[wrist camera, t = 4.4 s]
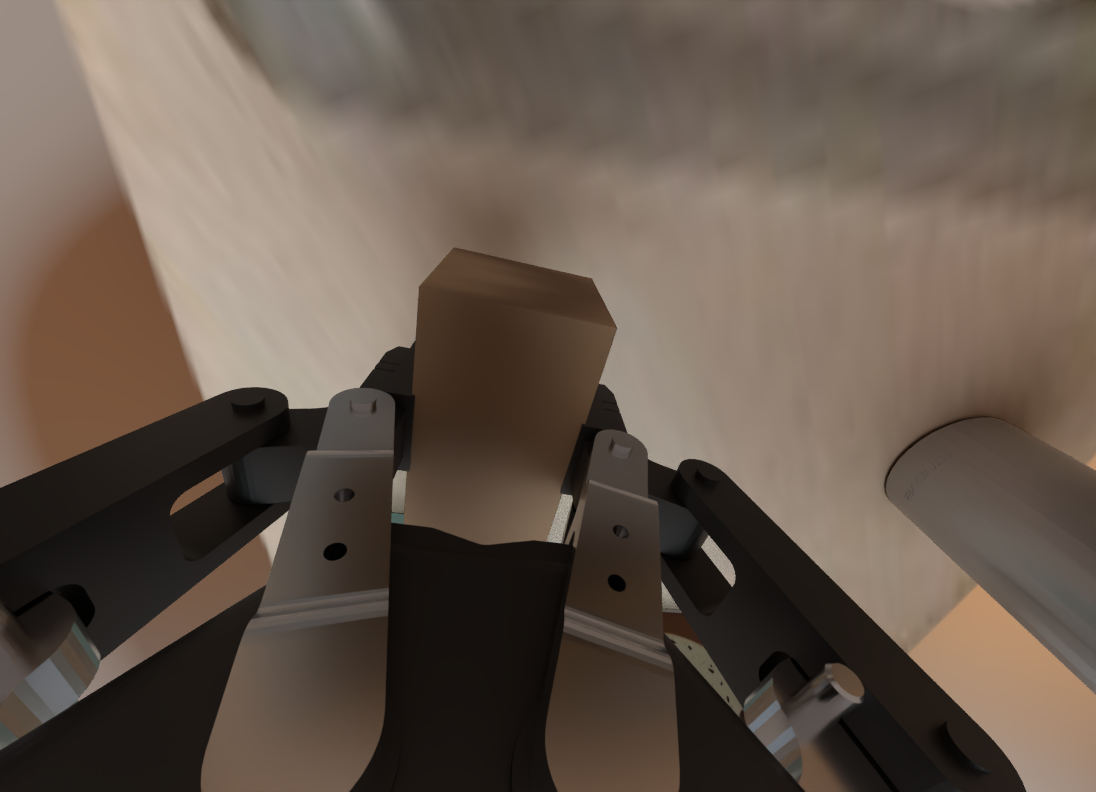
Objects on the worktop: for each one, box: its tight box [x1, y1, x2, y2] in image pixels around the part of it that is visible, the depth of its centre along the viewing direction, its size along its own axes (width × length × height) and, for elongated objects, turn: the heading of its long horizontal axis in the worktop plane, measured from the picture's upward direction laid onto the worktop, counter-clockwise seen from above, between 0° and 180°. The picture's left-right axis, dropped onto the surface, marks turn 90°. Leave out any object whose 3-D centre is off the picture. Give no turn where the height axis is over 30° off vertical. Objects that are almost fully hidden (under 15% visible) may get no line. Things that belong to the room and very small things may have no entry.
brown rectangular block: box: [403, 248, 617, 545], centre depth 15 cm, size 4×20×4 cm, turn 167°
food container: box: [662, 609, 746, 724], centre depth 35 cm, size 12×6×10 cm, turn 80°
